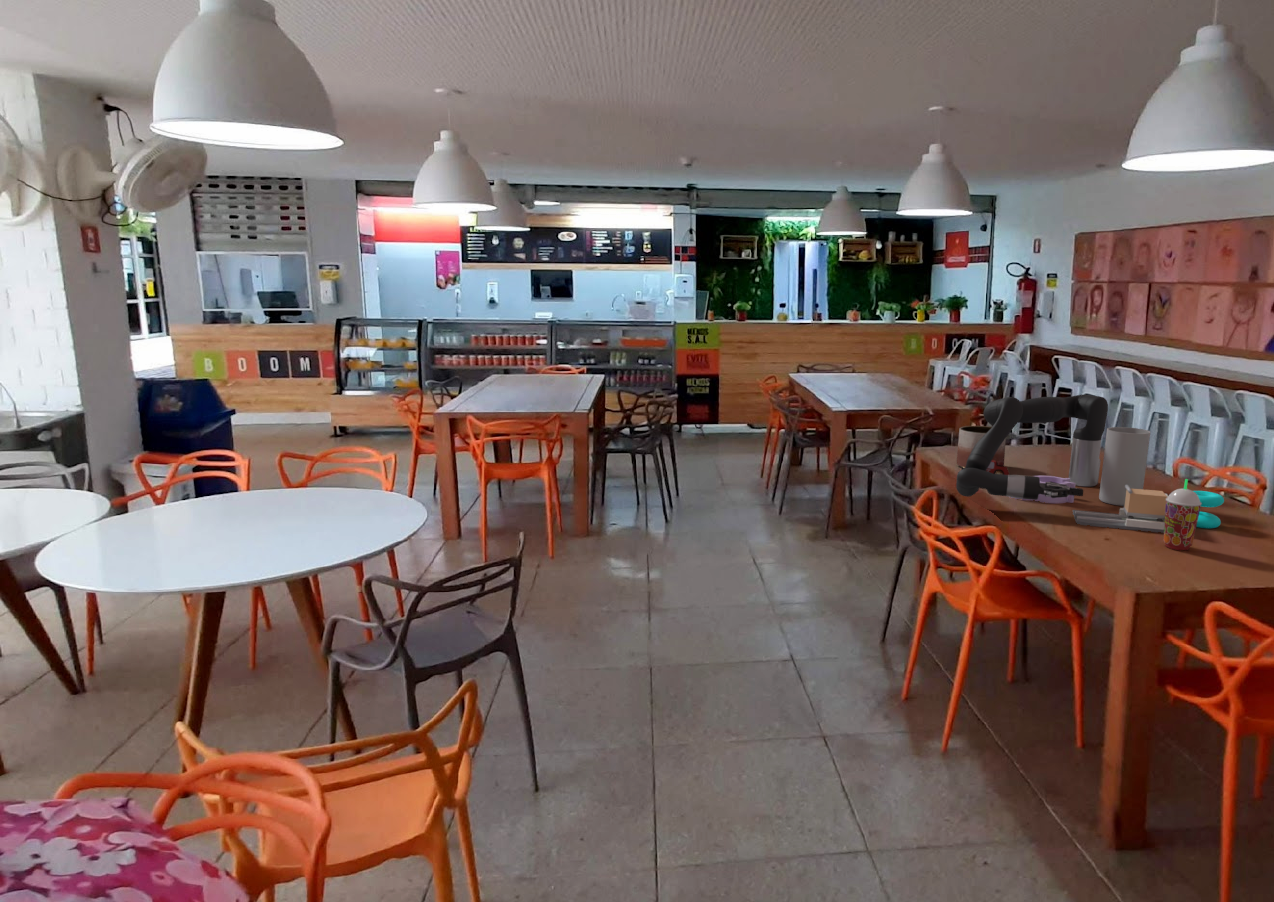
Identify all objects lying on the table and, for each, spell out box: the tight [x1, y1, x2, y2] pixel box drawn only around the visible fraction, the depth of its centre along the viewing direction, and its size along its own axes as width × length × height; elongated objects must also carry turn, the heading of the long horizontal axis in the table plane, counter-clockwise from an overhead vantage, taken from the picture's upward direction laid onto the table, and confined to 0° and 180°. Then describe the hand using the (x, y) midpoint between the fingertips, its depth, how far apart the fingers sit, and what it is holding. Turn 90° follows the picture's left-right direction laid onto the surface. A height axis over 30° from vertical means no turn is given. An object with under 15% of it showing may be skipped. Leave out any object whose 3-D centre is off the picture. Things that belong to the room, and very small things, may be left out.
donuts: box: [1192, 490, 1225, 529], centre depth 248 cm, size 10×10×10 cm
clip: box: [1010, 475, 1076, 504], centre depth 280 cm, size 20×12×7 cm, turn 76°
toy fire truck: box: [979, 460, 1011, 489], centre depth 294 cm, size 7×12×10 cm, turn 46°
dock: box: [1072, 493, 1169, 534], centre depth 250 cm, size 14×25×9 cm, turn 67°
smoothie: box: [1163, 478, 1202, 551], centre depth 226 cm, size 8×8×20 cm
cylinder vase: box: [1098, 426, 1151, 507], centre depth 272 cm, size 12×12×25 cm
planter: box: [956, 425, 1007, 472], centre depth 325 cm, size 18×18×16 cm
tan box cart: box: [1122, 485, 1167, 522], centre depth 248 cm, size 8×10×10 cm
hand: (1082, 492), depth 254 cm, fingers closed
